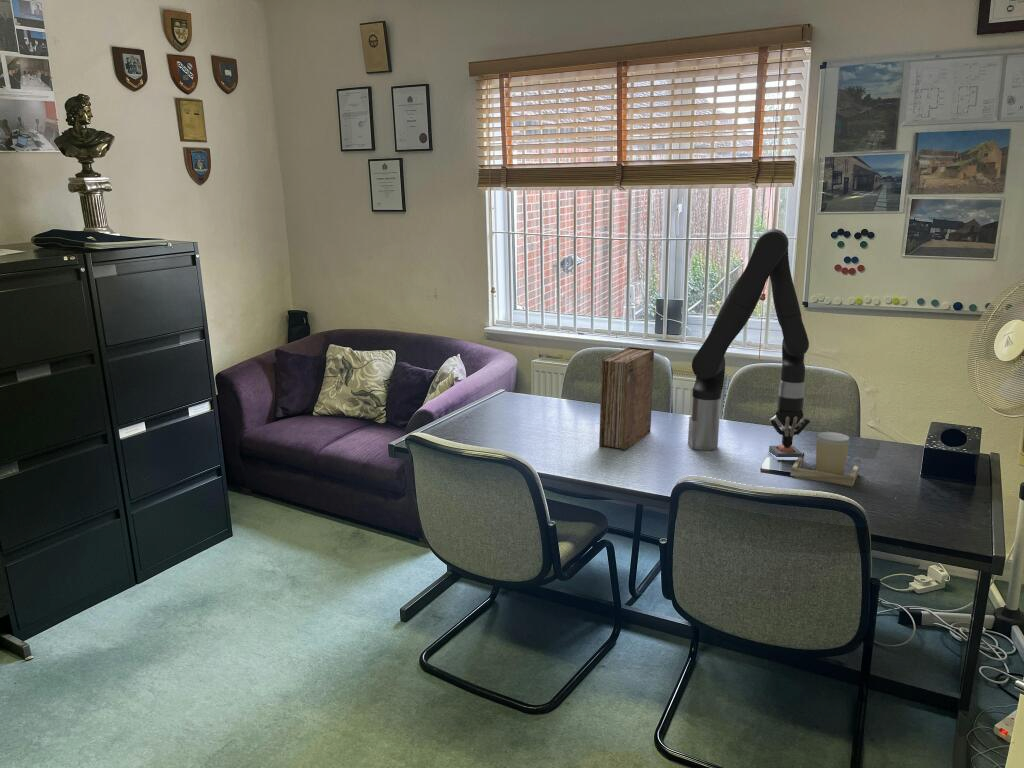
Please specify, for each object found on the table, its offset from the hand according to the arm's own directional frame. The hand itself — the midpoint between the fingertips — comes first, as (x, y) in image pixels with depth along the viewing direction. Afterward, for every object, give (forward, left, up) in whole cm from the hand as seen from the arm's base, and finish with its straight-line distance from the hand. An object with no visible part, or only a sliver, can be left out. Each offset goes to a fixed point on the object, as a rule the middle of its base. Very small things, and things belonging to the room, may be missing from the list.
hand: (786, 446), depth 244 cm
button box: (0, 0, -3) cm, 3 cm away
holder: (+6, -17, -3) cm, 18 cm away
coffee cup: (+8, -16, -4) cm, 18 cm away
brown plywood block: (-49, +18, -4) cm, 53 cm away
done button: (0, 0, -3) cm, 3 cm away
